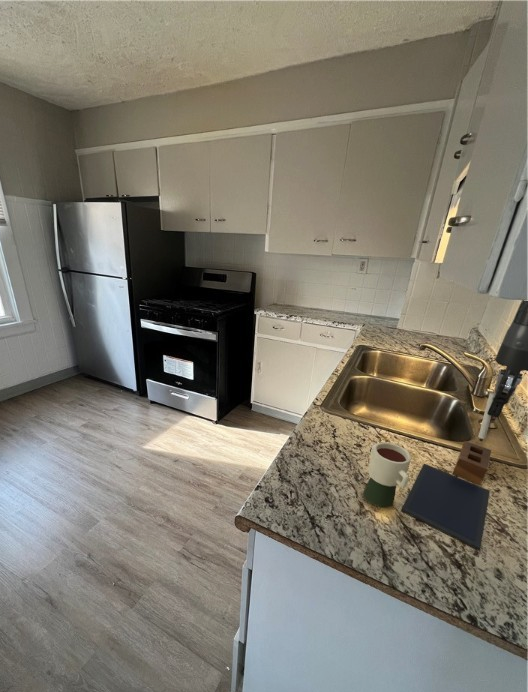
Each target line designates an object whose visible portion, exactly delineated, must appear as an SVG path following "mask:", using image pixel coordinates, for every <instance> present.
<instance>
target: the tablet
mask: <svg viewBox="0 0 528 692" xmlns="http://www.w3.org/2000/svg"><path fill="white" fill-rule="evenodd" d="M490 493H491V490H490V489H487V488H484V487H483V486H481V485H477V484H475V483H472V482H470V481H468V480H465V479H463V478H460V477H458V476H455V475H453V474H452V473H451V474H450V473H449V472H446V471H444V470H441V469H438V468H437V467H433V466H431V465H429V464H427V463H423V464H422V466H421V467H420V470H419V473H418V474H417V476H416V479H415V481H414V483H413V484H412V487H411V489H410V491H409V493H408V495H407V497H406V498H405V500H404V503H403V505H402V507H401V510H400V511H401V512H402V513H403V514H406V515H408V516H410V517H412V518H414V519H416V520H418V521H420V522H422V523H424V524H426V525H428V526H430V527H432V528H433V529H435V530H438V531H439V532H442V533H443V534H445V535H447V536H450V537H451V538H453V539H455V540H457V541H459V542H461V543H463V544H465V545H467V546H468V547H471V548H473V549H475V550H476V551H481V548H482V542H483V541H482V540H483V537H484V528H485V523H486V518H487V510H488V505H489V498H490Z"/></svg>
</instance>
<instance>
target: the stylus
mask: <svg viewBox="0 0 528 692" xmlns="http://www.w3.org/2000/svg"><path fill="white" fill-rule="evenodd" d="M494 396H495V391H494V392H493V391H491V392H489V395H488V398H487V402H486V405H485V410H484V413H483V417H482V421H481V424H480V425H481V426H480V429H479V432H478V438H479V441H480V442H484V440H485V439H486V437H487V433H488V430H489V427H490V422H491V419H492V416H490V415H488V414H487V413H488V410H489V408H490V406H491V404H492V401H493V399H492V398H493V397H494Z"/></svg>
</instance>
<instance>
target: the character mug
mask: <svg viewBox="0 0 528 692" xmlns="http://www.w3.org/2000/svg"><path fill="white" fill-rule="evenodd" d="M369 455H370V460H369V462H368V463H369V464H368V467H367V468H368V471H367V473H368V475H369V479H368V481H367V483H366V485H365V488H364V490H363V496H364V499H365V500H366V501H367V502H368V503H370V504H372V505H373V506H376V507H379V508H390V507H392V506H394V505H393V504H394V502H395V497H396V491H397V486H399V488H402V489H403V490H404V489H405V488H406V487H407V485H408V483H409V480H410V476H409V475H408V471H409V467H410V464H411V459H412V458H411V454H410V452H409V451H408V450H407V449H406V448H404V447H402V446H401V445H398V444H396V443H393V442H387V441H386V442H383V441H382V442H378V443H376V444H375V443H374V444H372V446H371V450H370V453H369Z"/></svg>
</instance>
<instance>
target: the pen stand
mask: <svg viewBox="0 0 528 692" xmlns="http://www.w3.org/2000/svg"><path fill="white" fill-rule="evenodd" d="M491 454H492V449H490V448H486V447H483V446H481V445H478V444H475V443H472V442H469V441H466V440H464V441H463V444H462V447H461V449H460V451H459V453H458V456H457V459H456V462H455V465H454V468H453V470H452V473H451V475H453V476H456V477H458V478H461V479H463V480H465V481H468V482H470V483H473V484H475V485H478V486H481V484H482V482H483V480H484V479H485V476H486V474H487V472H488V469H489V464H490V459H491Z"/></svg>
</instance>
